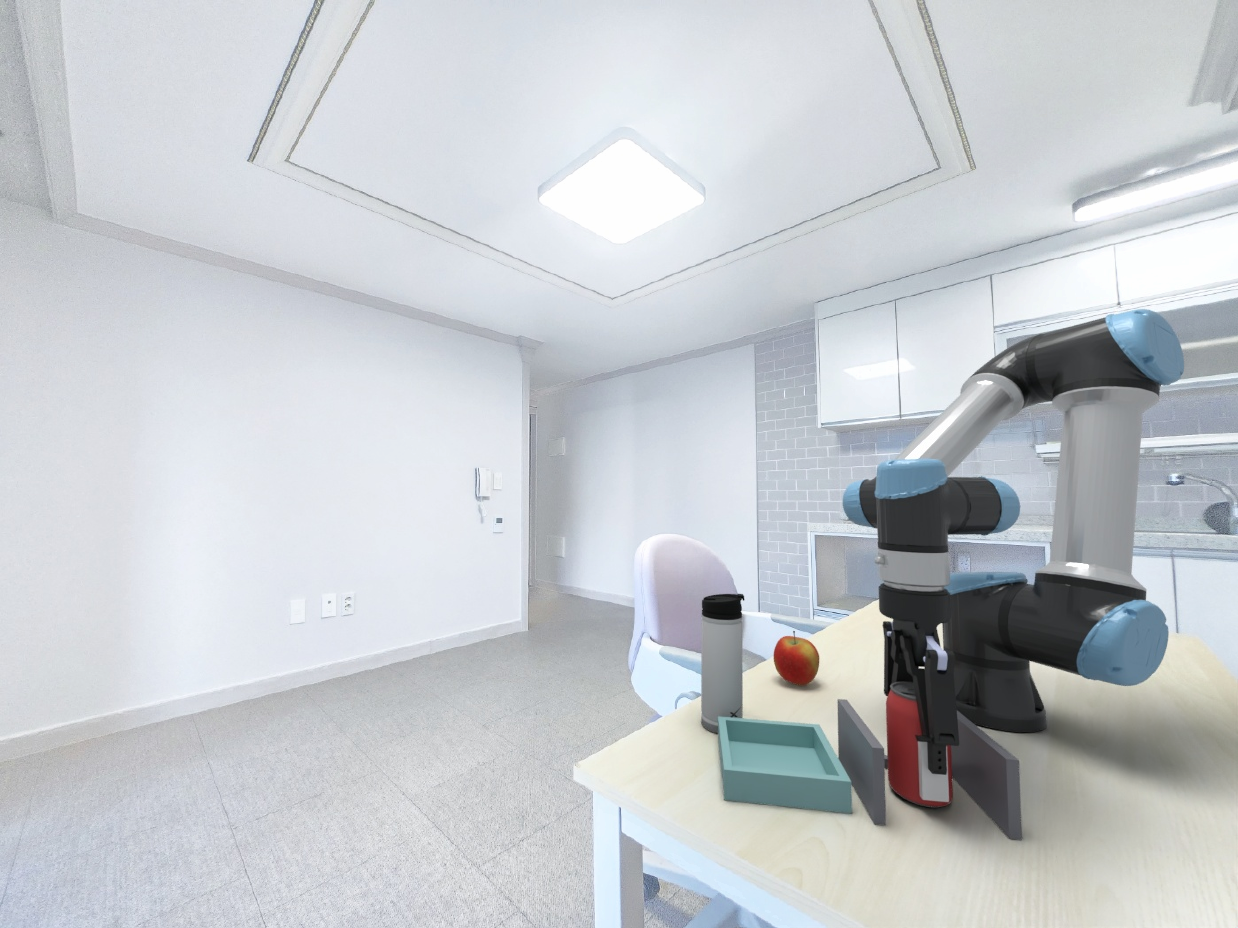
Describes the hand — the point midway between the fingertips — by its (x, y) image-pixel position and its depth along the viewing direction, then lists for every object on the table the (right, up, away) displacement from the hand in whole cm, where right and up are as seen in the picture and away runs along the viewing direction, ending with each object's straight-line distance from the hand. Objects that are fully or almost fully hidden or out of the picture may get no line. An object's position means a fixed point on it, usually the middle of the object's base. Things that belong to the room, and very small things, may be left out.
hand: (919, 779), depth 58 cm
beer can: (0, -2, 0) cm, 2 cm away
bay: (0, -2, 0) cm, 2 cm away
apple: (-2, -4, +34) cm, 35 cm away
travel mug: (-20, -3, +17) cm, 26 cm away
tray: (-16, -2, +4) cm, 16 cm away
